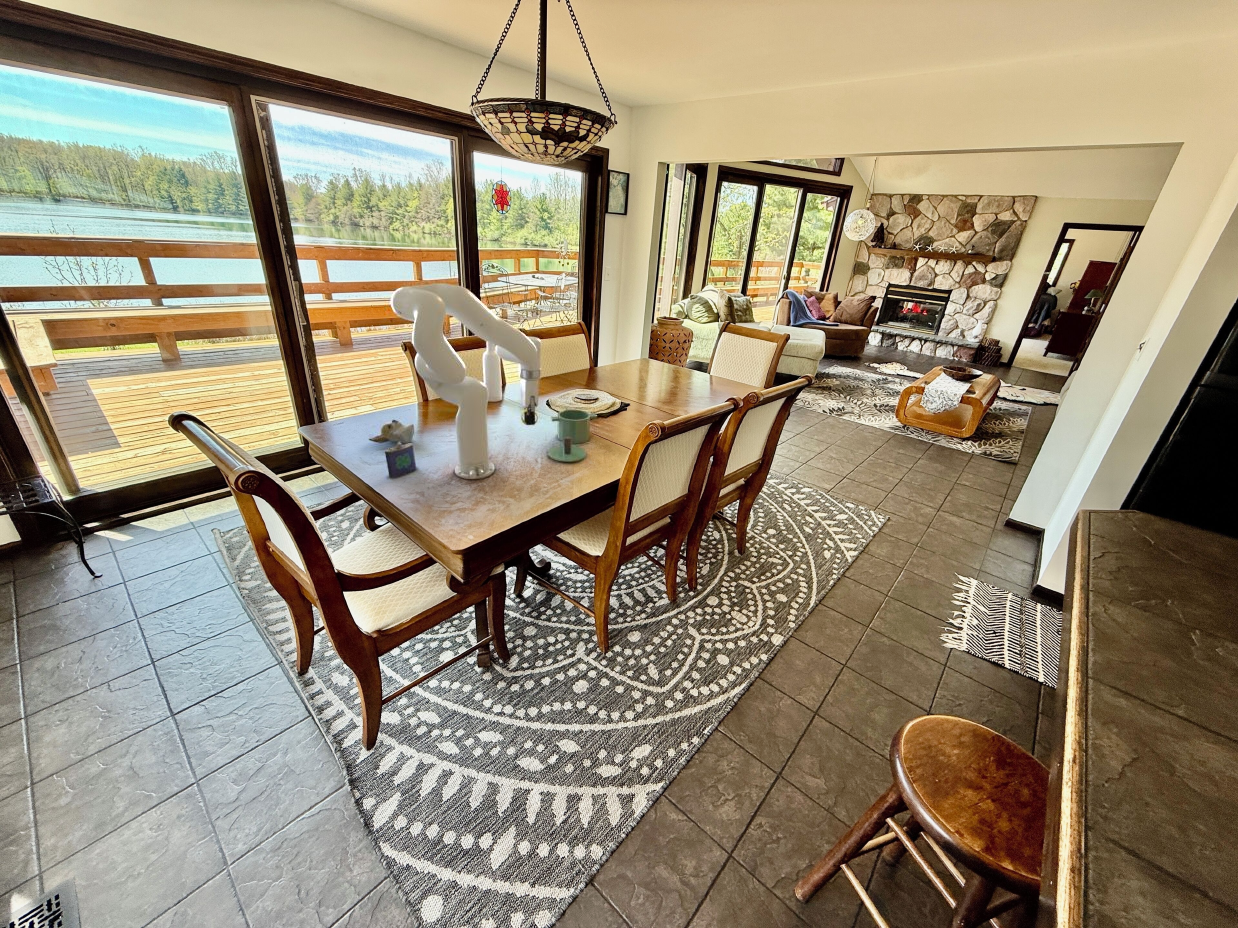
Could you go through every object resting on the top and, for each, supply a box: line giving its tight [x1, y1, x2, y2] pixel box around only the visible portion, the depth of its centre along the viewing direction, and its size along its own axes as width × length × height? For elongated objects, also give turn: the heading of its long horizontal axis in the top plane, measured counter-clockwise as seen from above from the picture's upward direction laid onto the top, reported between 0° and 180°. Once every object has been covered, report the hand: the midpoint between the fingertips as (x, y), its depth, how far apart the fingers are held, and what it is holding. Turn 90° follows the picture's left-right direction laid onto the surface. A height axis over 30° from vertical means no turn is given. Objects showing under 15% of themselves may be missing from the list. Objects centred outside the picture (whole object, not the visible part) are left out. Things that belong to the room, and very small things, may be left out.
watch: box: [520, 408, 539, 426], centre depth 174 cm, size 6×3×6 cm, turn 94°
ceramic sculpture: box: [368, 419, 415, 444], centre depth 175 cm, size 11×9×15 cm
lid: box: [547, 436, 587, 463], centre depth 173 cm, size 14×14×7 cm
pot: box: [550, 408, 598, 445], centre depth 189 cm, size 13×18×10 cm
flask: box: [384, 441, 417, 479], centre depth 153 cm, size 9×3×11 cm, turn 144°
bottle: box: [482, 341, 503, 403], centre depth 220 cm, size 8×8×30 cm
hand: (529, 422), depth 174 cm, fingers closed on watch, 2 cm apart
